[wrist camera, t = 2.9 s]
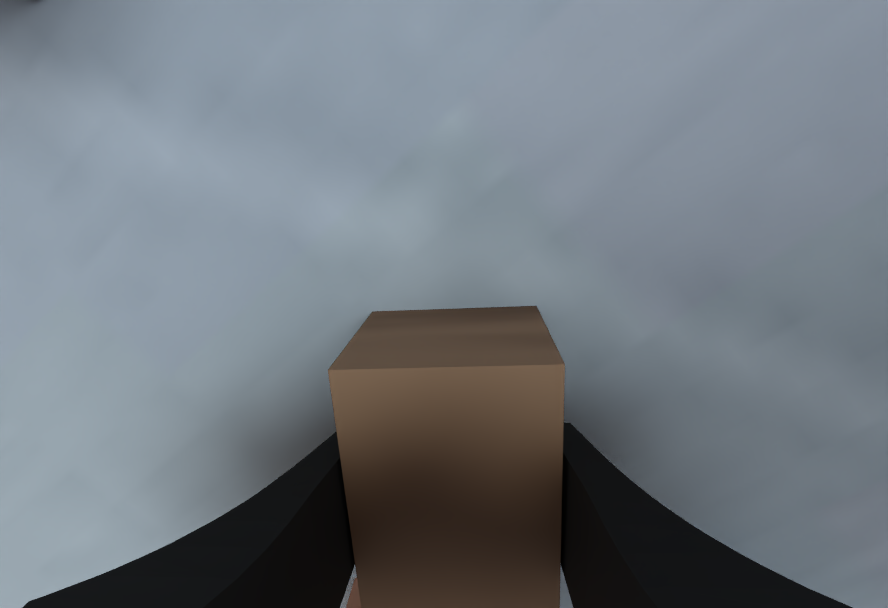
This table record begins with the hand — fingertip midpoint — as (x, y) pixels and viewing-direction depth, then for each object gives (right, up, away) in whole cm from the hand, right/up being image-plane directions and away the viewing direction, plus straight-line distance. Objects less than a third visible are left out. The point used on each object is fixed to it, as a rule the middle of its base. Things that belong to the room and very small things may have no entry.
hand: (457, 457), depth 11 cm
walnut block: (0, +1, +2) cm, 2 cm away
